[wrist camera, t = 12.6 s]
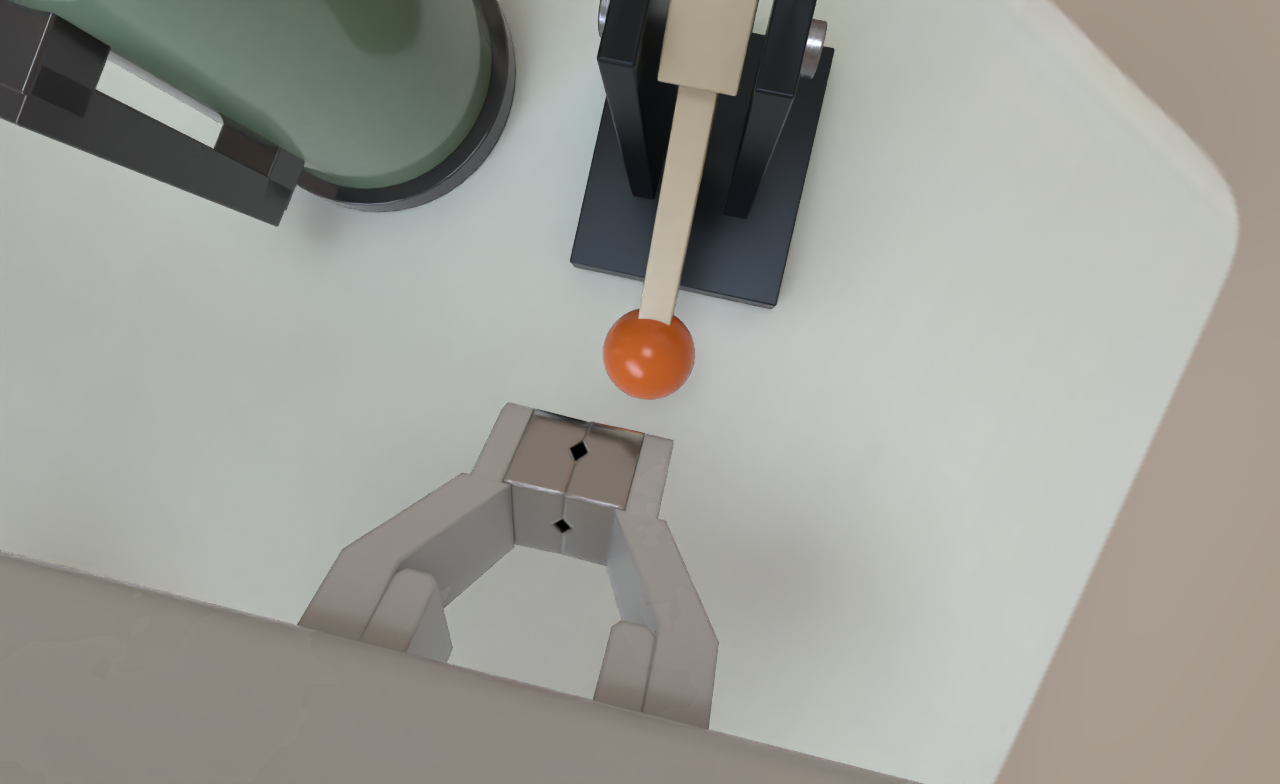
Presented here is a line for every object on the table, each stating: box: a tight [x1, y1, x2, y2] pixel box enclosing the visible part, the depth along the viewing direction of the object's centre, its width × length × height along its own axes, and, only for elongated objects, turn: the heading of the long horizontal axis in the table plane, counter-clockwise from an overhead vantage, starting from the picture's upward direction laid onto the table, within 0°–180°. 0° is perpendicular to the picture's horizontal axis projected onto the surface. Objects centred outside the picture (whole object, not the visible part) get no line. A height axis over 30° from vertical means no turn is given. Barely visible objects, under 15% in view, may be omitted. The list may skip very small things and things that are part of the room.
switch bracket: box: [570, 0, 835, 309], centre depth 22 cm, size 11×9×13 cm
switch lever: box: [603, 0, 759, 400], centre depth 20 cm, size 13×3×3 cm, turn 168°
